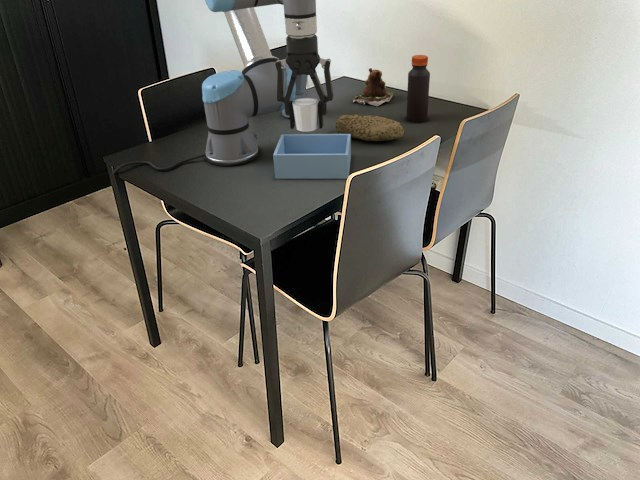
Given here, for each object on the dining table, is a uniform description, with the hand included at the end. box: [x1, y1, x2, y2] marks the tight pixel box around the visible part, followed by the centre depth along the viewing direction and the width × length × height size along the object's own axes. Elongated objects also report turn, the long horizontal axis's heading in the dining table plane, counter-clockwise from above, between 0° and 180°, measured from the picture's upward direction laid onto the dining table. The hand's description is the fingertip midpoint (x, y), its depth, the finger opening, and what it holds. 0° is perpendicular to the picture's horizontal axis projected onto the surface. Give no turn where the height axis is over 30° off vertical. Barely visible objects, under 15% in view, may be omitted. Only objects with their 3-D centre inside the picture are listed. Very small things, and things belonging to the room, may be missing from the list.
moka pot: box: [281, 64, 309, 119], centre depth 184 cm, size 10×15×20 cm, turn 124°
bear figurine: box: [352, 67, 394, 107], centre depth 197 cm, size 14×15×12 cm
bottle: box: [405, 54, 431, 123], centre depth 176 cm, size 7×7×20 cm
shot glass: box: [292, 97, 320, 133], centre depth 143 cm, size 7×7×7 cm
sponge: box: [334, 113, 405, 142], centre depth 167 cm, size 13×8×20 cm
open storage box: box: [272, 133, 352, 180], centre depth 151 cm, size 20×15×7 cm
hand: (306, 126), depth 144 cm, fingers closed on shot glass, 7 cm apart
